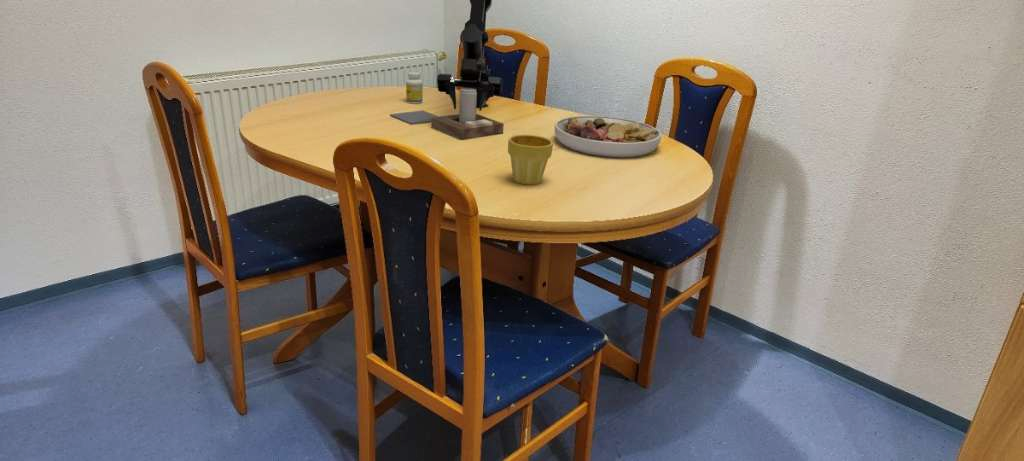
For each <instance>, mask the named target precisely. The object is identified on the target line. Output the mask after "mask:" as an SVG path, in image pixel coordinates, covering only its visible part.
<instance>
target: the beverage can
mask: <svg viewBox="0 0 1024 461" xmlns="http://www.w3.org/2000/svg"><path fill="white" fill-rule="evenodd" d="M476 91H477V90H476V89H472V88H463V87H461V88H460V91H459V113H458V114H459V123H462V124H465V122H469V121H476V114H477V108H476V103H477V92H476Z"/></svg>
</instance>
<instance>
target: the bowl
mask: <svg viewBox="0 0 1024 461" xmlns="http://www.w3.org/2000/svg"><path fill="white" fill-rule="evenodd" d="M554 133H555V137H556V138H557V140H558V142H560V144H562V145H563V146H565V147H566V148H569V149H571V150H572V151H576V152H579V153H583V154H586V155H591V156H598V157H605V158H619V159H620V158H634V157H641V156H645V155H647V154H650V153H652V152H653V151H654V150H655V149H657V148H658V146H659V145H660V143H661V139H662V133H661V131H660V130H659V129H657V128H655V127H653V126H652V125H649V124H647V123H644V122H640V121H636V120H632V119H626V118H620V117H613V116H602V115H601V116H600V115H577V116H571V117H564V118H561V119H558V120H557V121H556V122H555V123H554Z"/></svg>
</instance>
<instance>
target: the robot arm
mask: <svg viewBox="0 0 1024 461" xmlns="http://www.w3.org/2000/svg"><path fill="white" fill-rule="evenodd" d="M469 2H470V13H469V19H468V20H467V21H466V22H464V28H463V29H462V30H461V33H460V35H459V37H460V38H459V39H460V41H459V42H460V43H461V47H462V51H463V53H462V58H461V60H460V61H461V63H460V69H459V77H460V79H458V78H454V77H453V75H452V74H451V73H438V75H437V78H436V85H437V91H438V92H440V93H445V94H446V95H449V97H450V99H451V102H452V105H453V109H454V110H456V109H457V94H456V87H459V88H472V89H476V90H477V91H476V92H477V103H476V109H477V108H479V109H478V110H479V112H481V111H482V110H483V108H485V107H487V108H488V107H489V104H487V102H488V100H490V98H493V97H494V96H497V97H498V96H502V91H503V79H502V78H501V77H499V76H492V74H491V73H490V70H489V69H488V67H489V66H488V64H487V62H486V58H485V56H484V55H485V45H487V44H488V42H489V41H490V35H489V33H488V32H487V31H486V22H487V13H488V11H489V10H490V8H491V7H492V3H493V0H469Z"/></svg>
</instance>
